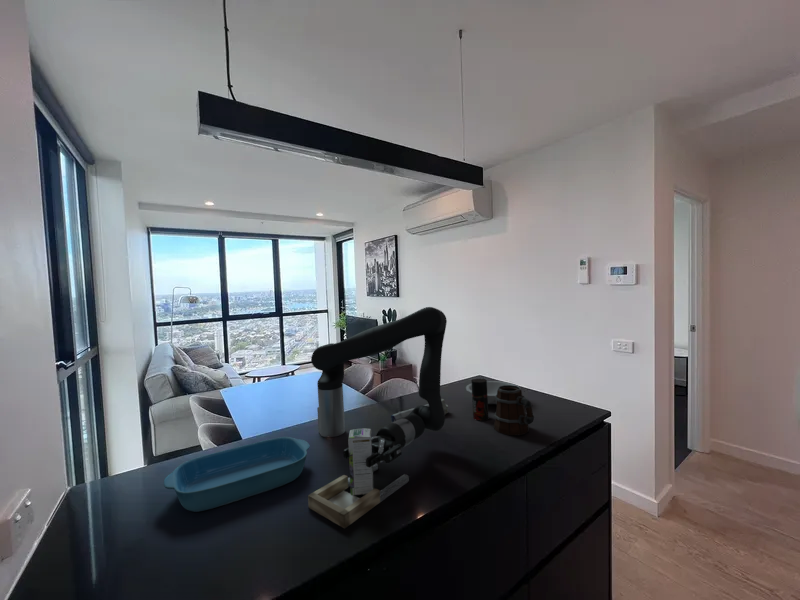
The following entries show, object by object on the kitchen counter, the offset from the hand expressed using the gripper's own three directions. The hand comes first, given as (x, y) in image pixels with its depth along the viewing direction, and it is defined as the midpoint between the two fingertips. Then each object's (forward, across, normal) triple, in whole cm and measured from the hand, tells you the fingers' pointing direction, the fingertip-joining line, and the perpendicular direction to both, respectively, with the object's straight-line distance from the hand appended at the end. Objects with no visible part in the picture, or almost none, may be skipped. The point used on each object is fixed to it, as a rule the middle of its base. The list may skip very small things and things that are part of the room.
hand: (355, 458), depth 87 cm
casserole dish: (+13, -31, +10) cm, 36 cm away
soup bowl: (-86, -2, +11) cm, 87 cm away
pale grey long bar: (-53, -18, +11) cm, 57 cm away
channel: (-7, 0, +10) cm, 12 cm away
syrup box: (-2, 0, +9) cm, 9 cm away
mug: (-60, +18, +10) cm, 64 cm away
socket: (+5, 0, +10) cm, 11 cm away
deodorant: (-65, +2, +10) cm, 66 cm away
